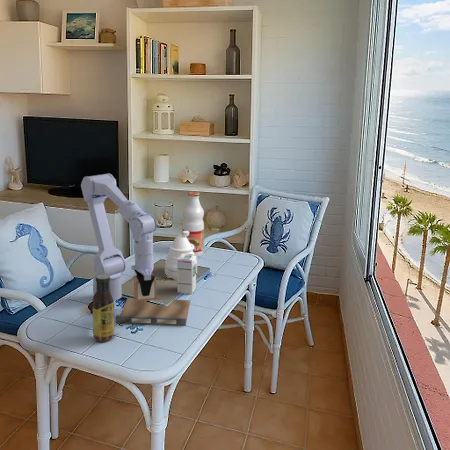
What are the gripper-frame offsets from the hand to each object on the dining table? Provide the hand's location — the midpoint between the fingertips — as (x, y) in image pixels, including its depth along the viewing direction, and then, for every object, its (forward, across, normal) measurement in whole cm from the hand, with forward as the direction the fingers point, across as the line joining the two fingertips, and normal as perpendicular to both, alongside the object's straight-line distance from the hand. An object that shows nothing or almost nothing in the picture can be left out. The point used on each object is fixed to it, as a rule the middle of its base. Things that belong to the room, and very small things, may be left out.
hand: (144, 292), depth 160 cm
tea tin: (+2, 0, 0) cm, 2 cm away
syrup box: (+9, -15, +18) cm, 25 cm away
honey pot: (+9, -33, +19) cm, 39 cm away
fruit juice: (+9, -54, +29) cm, 62 cm away
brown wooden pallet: (+9, -1, +4) cm, 10 cm away
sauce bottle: (+9, +10, -14) cm, 19 cm away
